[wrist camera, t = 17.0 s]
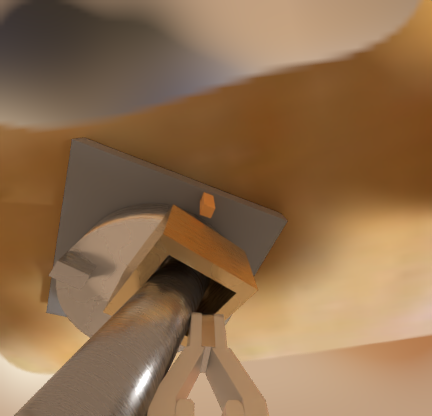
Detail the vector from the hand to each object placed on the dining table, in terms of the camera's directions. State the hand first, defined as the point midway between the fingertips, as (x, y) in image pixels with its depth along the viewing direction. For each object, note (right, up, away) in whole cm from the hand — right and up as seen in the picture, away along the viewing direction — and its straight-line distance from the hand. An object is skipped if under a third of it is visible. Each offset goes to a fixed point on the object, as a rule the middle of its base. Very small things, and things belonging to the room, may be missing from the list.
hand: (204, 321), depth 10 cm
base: (-5, +1, +9) cm, 10 cm away
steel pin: (-1, +2, +3) cm, 4 cm away
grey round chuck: (-4, 0, +7) cm, 9 cm away
